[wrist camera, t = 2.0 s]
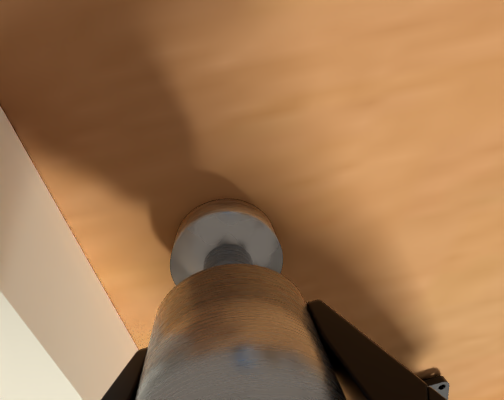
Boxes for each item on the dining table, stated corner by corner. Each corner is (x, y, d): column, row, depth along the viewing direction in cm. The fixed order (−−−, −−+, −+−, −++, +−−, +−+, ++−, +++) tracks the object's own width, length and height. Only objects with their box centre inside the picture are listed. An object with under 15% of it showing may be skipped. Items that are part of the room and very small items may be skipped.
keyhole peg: (283, 271, 14) (387, 545, 6) (193, 295, 14) (162, 614, 5) (264, 187, 12) (376, 408, 4) (160, 214, 12) (38, 507, 4)
